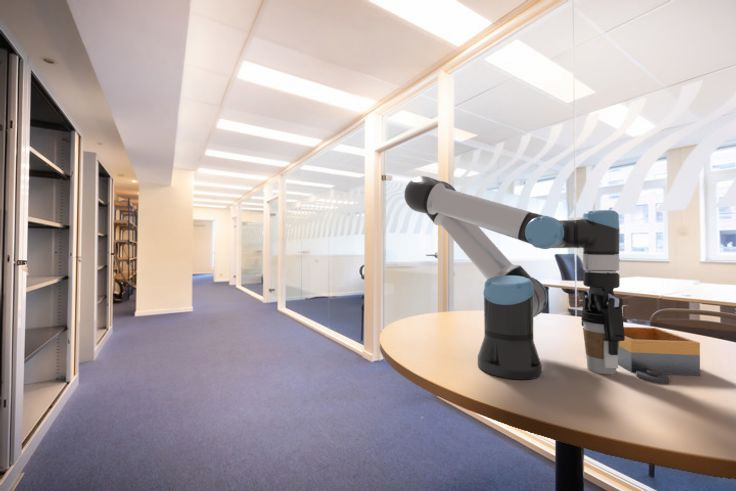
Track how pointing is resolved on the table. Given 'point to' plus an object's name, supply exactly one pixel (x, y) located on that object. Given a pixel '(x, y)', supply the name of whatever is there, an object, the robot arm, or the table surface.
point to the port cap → (652, 376)
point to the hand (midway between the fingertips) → (601, 361)
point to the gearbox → (658, 352)
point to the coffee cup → (595, 342)
